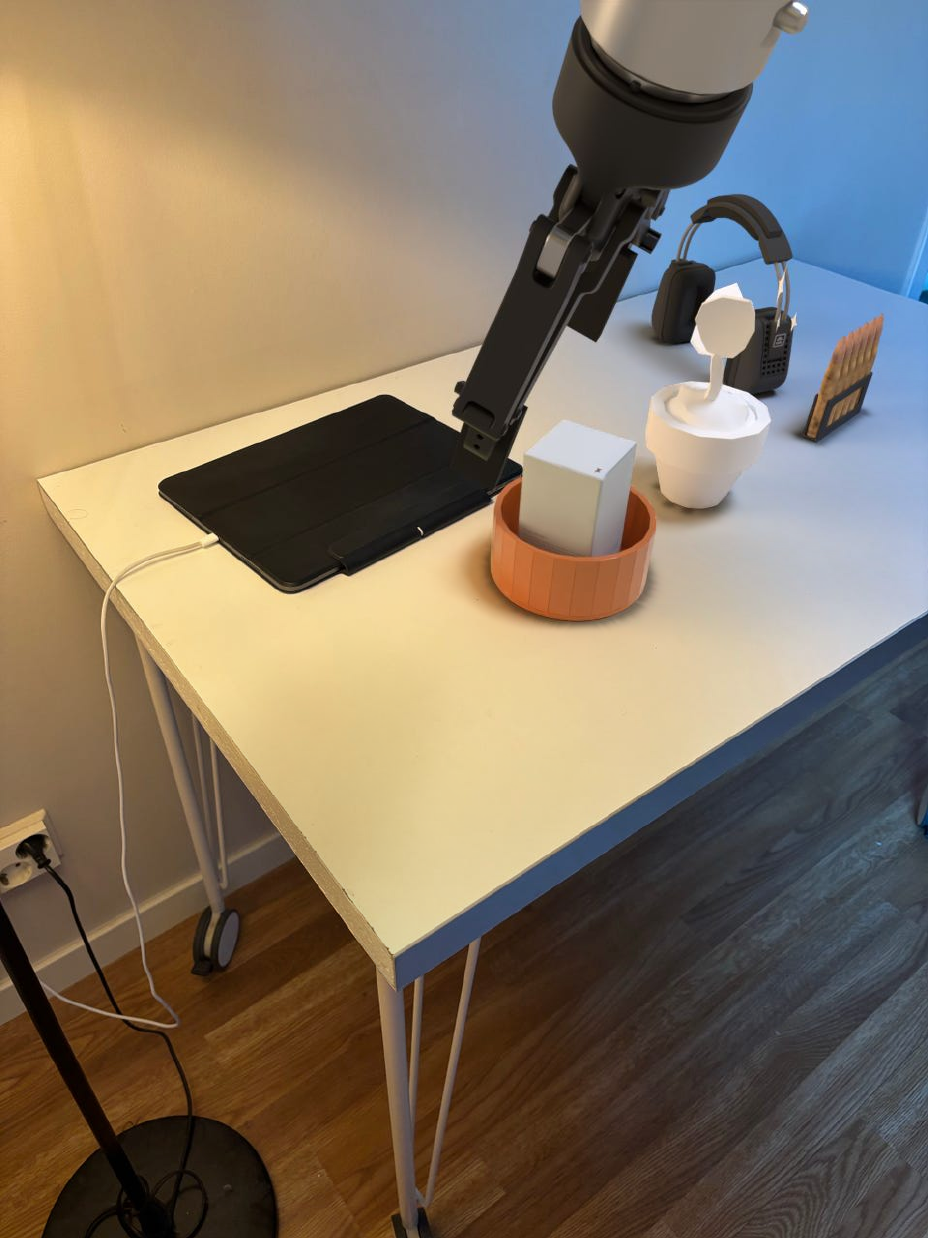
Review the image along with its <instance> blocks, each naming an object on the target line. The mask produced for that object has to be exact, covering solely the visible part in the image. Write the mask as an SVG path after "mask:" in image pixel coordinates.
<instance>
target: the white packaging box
mask: <svg viewBox="0 0 928 1238" xmlns="http://www.w3.org/2000/svg"><path fill="white" fill-rule="evenodd" d="M637 447H638V441H635V440H632V439H629V438H626V437H621V436H618V435H616V434H612V433H609V432H606V431H602V430H600V429H596V428H593V427H590V426H586V425H584V424H581V423H577V422H575V421H572V420H568V419H565V418H564V419H561V421H559V423H558V424H556V425H555V426H554V427H553V428H552V429H551V430H549V431H548V432H547V433H546V434H545V435H543V437H541V438H540V439H539V440H538V441H537V442H535V443H534V444H533V445H532V446H531V447H530V448H528V449H527V450H526V451H524V453H523V455H522V457H523V459H522V476H521V477H522V490H521V503H520V516H519V529H518V537H519V538H520V539H521V540H522V541H524V542H526V543H528V544H530V545H532V546H534V547H536V548H538V549H541V550H544V551H547V552H551V553H554V554H558V555H564V556H571V557H600V556H605V555H611V554H616V553H619V552H620V547H621V541H622V535H623V529H624V522H625V516H626V510H627V503H628V498H629V492H630V486H632V485H631V484H632V478H633V471H634V466H635V461H636V460H635V459H636V453H637Z"/></svg>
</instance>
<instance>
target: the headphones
mask: <svg viewBox="0 0 928 1238" xmlns="http://www.w3.org/2000/svg"><path fill="white" fill-rule="evenodd" d="M717 219H728V220H731V221H733V222H735V223H736V224H738V225H739V226H741V227H742V228H743V229H744V230H745V231H746V232H747V233H748V235H749V236H750V237H751V238H752V239H753V240H754V241H757V242H758V248H759V250H760V253H761V256H762V259H763V262H764V264H765V265H766V266H769V265H773V266H774V270H775V275H776V279H777V280H776V281H777V289H778V290H777V291H778V292H779V281H781V279H782V277H783V276H782V271H783V273H784V272H785V275H784V274H783V275H784V284H785V299H783V298H784V292H783V293H782V292H781V293H780V295H779V298H778V301H777V305H776V306H766V307H761V308H754V311H755V330H754V333H753V335H752V337H751V338H750V340H749V342H748V344H747V346H746V348H745V349H744V350H743V351H742V352H740V353H739V354H738V355H736V356H735V357H734V358H726V361H725V365H724V373H723V382H724V385H726V386H729V387H732V388H735V389H738V390H741V391H745V392H748V393H749V394H751V395H755V394H760V393H766V392H768V391H769V392H770V391H773V390H776V389H779V388H780V387H782V386H783V385H784V383H785V381H786V379H787V376H788V372H789V368H790V367H789V366H790V359H791V353H792V346H793V345H792V344H793V337H794V327H793V328H792V330H791V327H792V320H791V319H792V317H791V316H790V315H789V314H788V313H789V308H790V302H791V300H790V299H791V281H790V274H789V269H788V266H786V265H787V262H789V261H791V260H792V259H793V255H794V254H793V251H792V248H791V244H790V243H789V241H788V238H787V236H786V233H785V231H784V229H783V228H782V226H781V224H780V222H779V221H778V219H777V217H776V216H775V215H774V214H773V212H772V211H771V210H770V209H769V208H768V207H767V206H766V205H765V204H764V203H763V202H762V201H760V200H759V199H758V198H755V197H754V196H751V195H747V194H744V193H743V194H742V193H729V194H724V195H717V196H714V197H710V198H708V199H707V202H706V204H705V205H702V206H701V207H699V208H697V209H696V210H695V211H693V212H692V213H691V214H690V220H691V223H690V224H689V225H688V226H687V228H686V229H685V231H684V233H683V235H682V237H681V239H680V241H679V244H678V248H677V252H676V255H675V256H676V258H675V259H671V260H670V264H669V265H668V268H666V269H665V271H664V272H663V274H662V277H661V280H660V283H659V287H658V290H657V293H656V297H655V300H654V304H653V307H652V311H651V327H652V329H653V331H654V332H655V333H656V334H657V336H658V337H657V338H659V339H660V340H662V341H664V342H666V343H668V344H669V343H670V344H678V343H683V342H688V341H691V339H692V336H693V333H694V330H695V327H696V321H695V318H696V316H697V314H698V311H699V309H700V307H701V305H702V303H703V302H705V300H706V299H707V298H708V297H709V296H710V295H711V294H712V293H713V292H714V291H715V287H716V282H717V281H716V280H717V277H716V274H717V273H716V271H715V269H713V268H712V267H710V266H709V265H708V264H706V263H702V262H697V261H695V260H693V259H692V260H688V259H687V258H688V252H689V249H690V245H691V243H692V240H693V237H694V236H695V234H696V233H697V230H698V229H699V228H700V226H701V225H703V224H706V223H712V222H714V221H715V220H717ZM690 231H691V232H690ZM687 237H688V238H687ZM686 239H687V240H686ZM685 241H686V242H685ZM684 244H685V246H684ZM683 248H684V250H683ZM682 251H683V254H682ZM681 255H682V258H681ZM780 264H781V267H782V271H781V267H780ZM785 268H786V270H785ZM783 301H784V307H783ZM782 308H783V309H782ZM780 315H781V316H780ZM779 318H780V322H779V326H778V328H777V323H778V320H779ZM776 329H777V331H776Z"/></svg>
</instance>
